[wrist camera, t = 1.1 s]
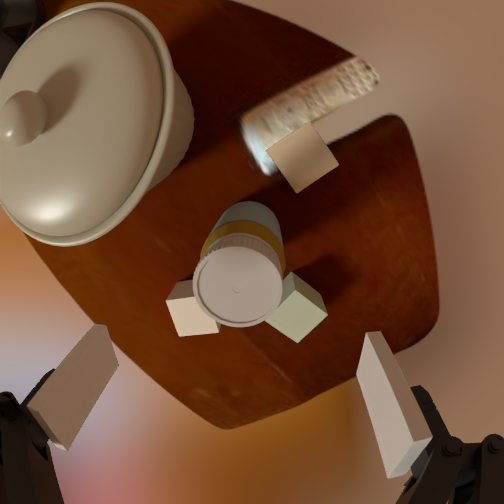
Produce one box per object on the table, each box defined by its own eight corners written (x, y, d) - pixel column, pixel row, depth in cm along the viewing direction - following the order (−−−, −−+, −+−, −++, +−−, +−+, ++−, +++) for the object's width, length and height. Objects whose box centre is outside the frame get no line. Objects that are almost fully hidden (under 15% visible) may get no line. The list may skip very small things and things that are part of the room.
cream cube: (177, 281, 36) (165, 300, 32) (214, 275, 36) (207, 294, 31) (188, 314, 38) (179, 336, 33) (224, 310, 37) (218, 332, 33)
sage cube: (265, 299, 36) (264, 320, 32) (291, 271, 35) (295, 289, 30) (294, 320, 37) (297, 342, 33) (320, 294, 36) (327, 314, 31)
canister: (222, 199, 32) (155, 277, 13) (88, 207, 33) (-37, 268, 13) (218, 47, 26) (157, -65, 7) (83, 75, 27) (-42, 48, 7)
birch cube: (265, 150, 30) (265, 150, 26) (302, 125, 29) (309, 121, 25) (291, 187, 32) (296, 193, 27) (328, 162, 31) (339, 164, 26)
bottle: (274, 195, 32) (282, 231, 18) (283, 253, 34) (294, 326, 20) (213, 205, 33) (174, 248, 19) (225, 262, 35) (200, 336, 21)
